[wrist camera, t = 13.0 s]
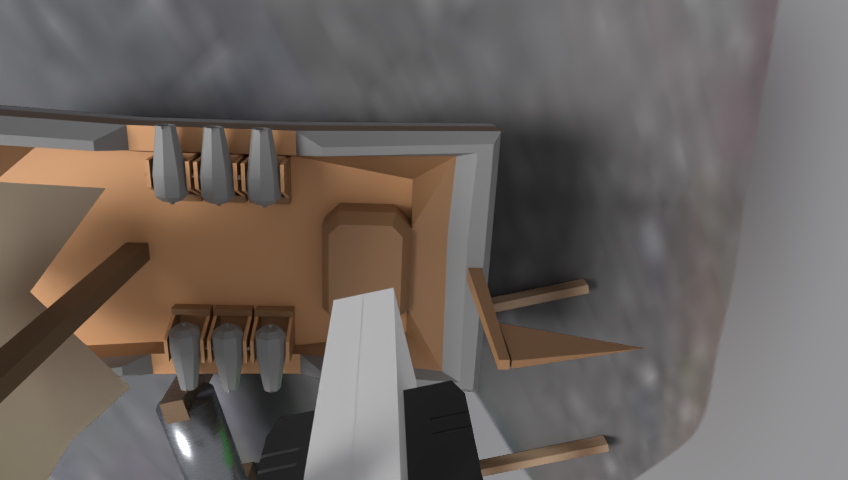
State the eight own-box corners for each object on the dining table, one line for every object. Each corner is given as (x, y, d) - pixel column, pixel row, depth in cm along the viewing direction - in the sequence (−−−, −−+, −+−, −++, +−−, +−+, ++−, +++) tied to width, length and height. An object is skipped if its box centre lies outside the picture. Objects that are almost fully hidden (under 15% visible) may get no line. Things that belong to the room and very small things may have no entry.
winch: (225, 484, 52) (201, 550, 46) (176, 355, 48) (141, 408, 42) (271, 474, 52) (254, 540, 46) (226, 344, 48) (199, 396, 41)
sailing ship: (-119, 81, 41) (-985, 181, 15) (558, 110, 43) (797, 236, 18) (-67, 307, 46) (-641, 664, 20) (534, 320, 49) (690, 648, 23)
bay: (362, 490, 53) (361, 503, 52) (316, 333, 48) (314, 343, 47) (604, 442, 53) (609, 453, 51) (583, 278, 48) (589, 286, 46)
